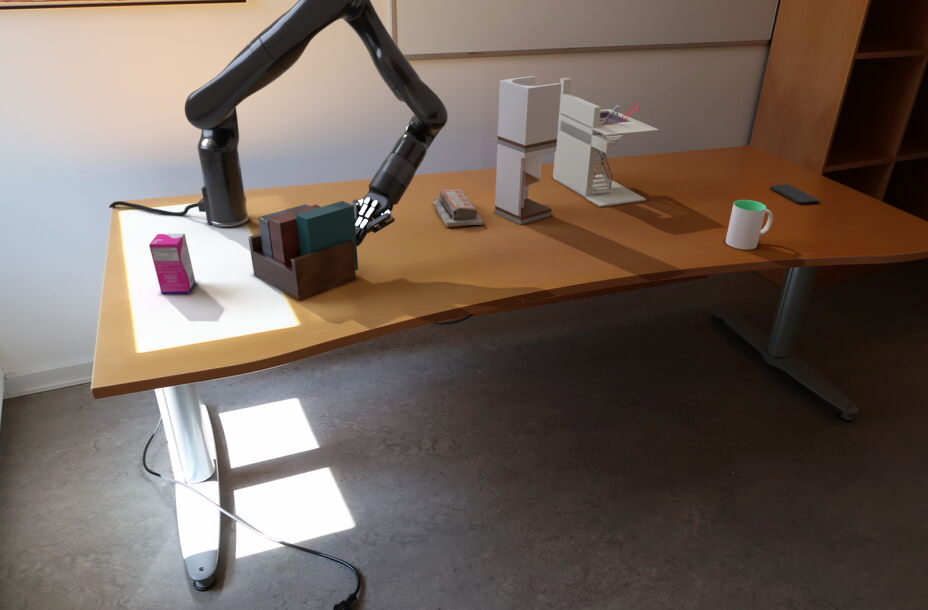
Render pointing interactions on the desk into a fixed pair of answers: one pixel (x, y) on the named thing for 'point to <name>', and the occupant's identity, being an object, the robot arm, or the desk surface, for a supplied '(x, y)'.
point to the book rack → (298, 257)
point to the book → (326, 228)
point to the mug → (747, 224)
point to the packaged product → (456, 208)
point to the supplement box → (172, 263)
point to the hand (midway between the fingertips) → (353, 243)
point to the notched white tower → (524, 144)
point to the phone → (794, 194)
